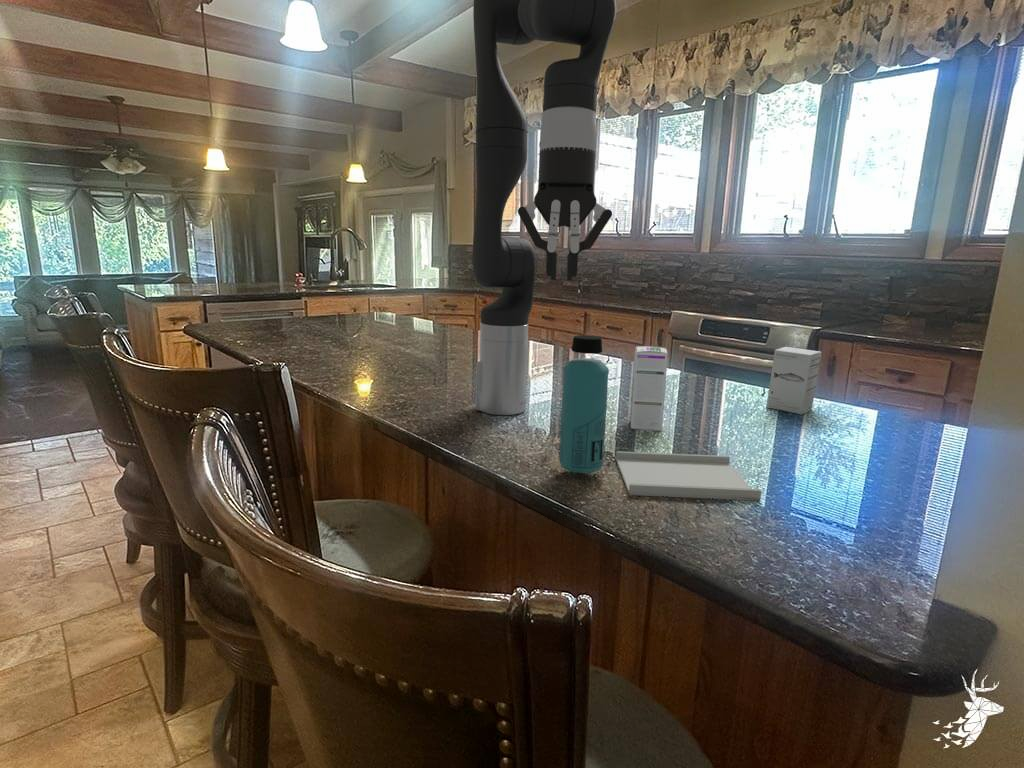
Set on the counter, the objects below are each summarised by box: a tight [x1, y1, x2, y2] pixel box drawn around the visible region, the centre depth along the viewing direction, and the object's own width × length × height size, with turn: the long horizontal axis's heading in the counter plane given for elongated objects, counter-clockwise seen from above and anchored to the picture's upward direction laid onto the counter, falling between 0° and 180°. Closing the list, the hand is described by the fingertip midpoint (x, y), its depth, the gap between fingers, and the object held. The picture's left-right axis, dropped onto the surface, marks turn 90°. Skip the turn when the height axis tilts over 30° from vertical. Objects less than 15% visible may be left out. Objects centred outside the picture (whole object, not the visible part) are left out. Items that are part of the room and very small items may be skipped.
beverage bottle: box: [557, 334, 610, 474], centre depth 79 cm, size 6×7×20 cm
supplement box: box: [766, 346, 823, 416], centre depth 119 cm, size 7×7×13 cm
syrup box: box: [630, 345, 669, 432], centre depth 104 cm, size 6×6×14 cm
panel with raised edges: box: [615, 450, 762, 502], centre depth 81 cm, size 17×13×1 cm
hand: (561, 279), depth 80 cm, fingers closed
